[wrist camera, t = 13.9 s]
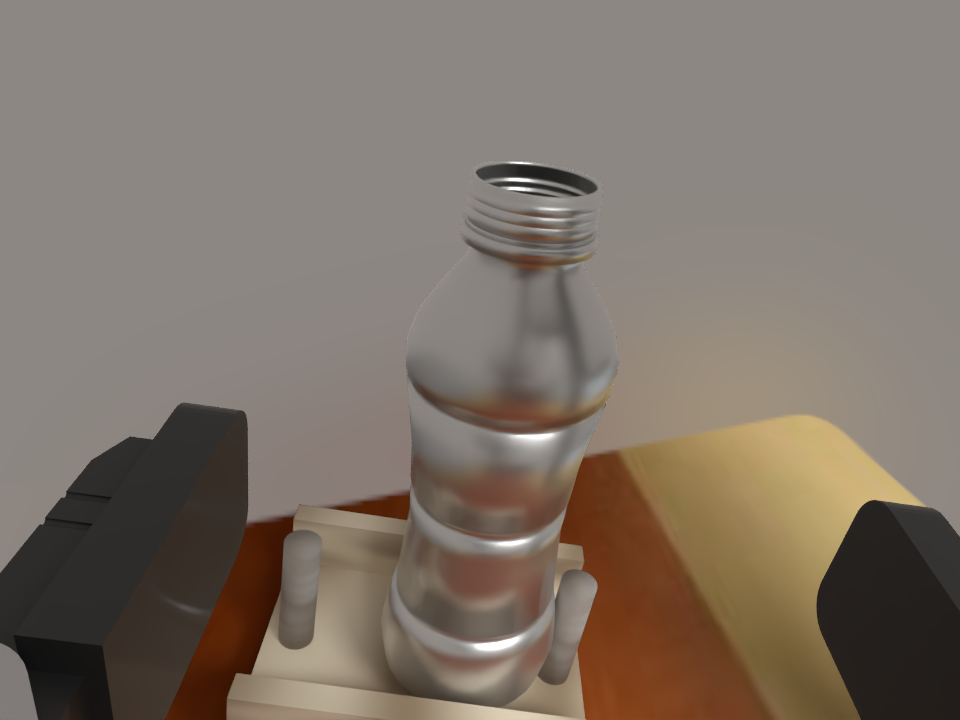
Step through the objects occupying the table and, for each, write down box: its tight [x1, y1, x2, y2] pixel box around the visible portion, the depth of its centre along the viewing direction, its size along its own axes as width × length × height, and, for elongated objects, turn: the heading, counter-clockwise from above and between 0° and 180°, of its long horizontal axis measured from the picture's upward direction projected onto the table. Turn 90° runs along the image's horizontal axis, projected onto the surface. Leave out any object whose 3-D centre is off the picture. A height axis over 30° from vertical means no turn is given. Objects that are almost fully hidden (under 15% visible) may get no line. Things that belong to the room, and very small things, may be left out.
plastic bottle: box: [381, 160, 619, 708], centre depth 25 cm, size 6×7×20 cm
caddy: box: [227, 504, 597, 720], centre depth 30 cm, size 13×10×6 cm
